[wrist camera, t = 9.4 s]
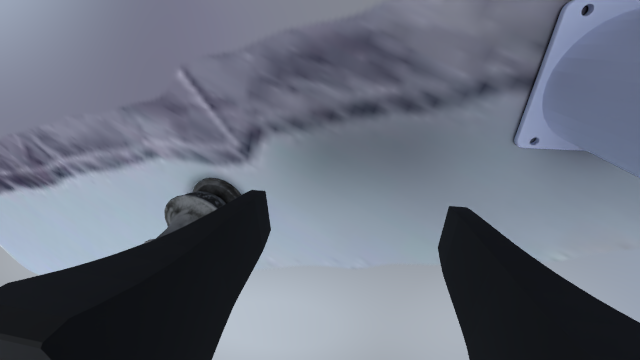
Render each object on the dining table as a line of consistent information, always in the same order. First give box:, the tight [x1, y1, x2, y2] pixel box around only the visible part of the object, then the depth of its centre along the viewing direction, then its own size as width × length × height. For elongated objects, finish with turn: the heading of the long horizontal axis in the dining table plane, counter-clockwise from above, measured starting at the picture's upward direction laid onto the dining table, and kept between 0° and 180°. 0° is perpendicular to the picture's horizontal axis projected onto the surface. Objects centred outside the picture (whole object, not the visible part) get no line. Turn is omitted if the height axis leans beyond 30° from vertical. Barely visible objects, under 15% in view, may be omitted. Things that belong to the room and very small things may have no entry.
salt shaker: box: [144, 178, 241, 244], centre depth 19 cm, size 6×6×12 cm
